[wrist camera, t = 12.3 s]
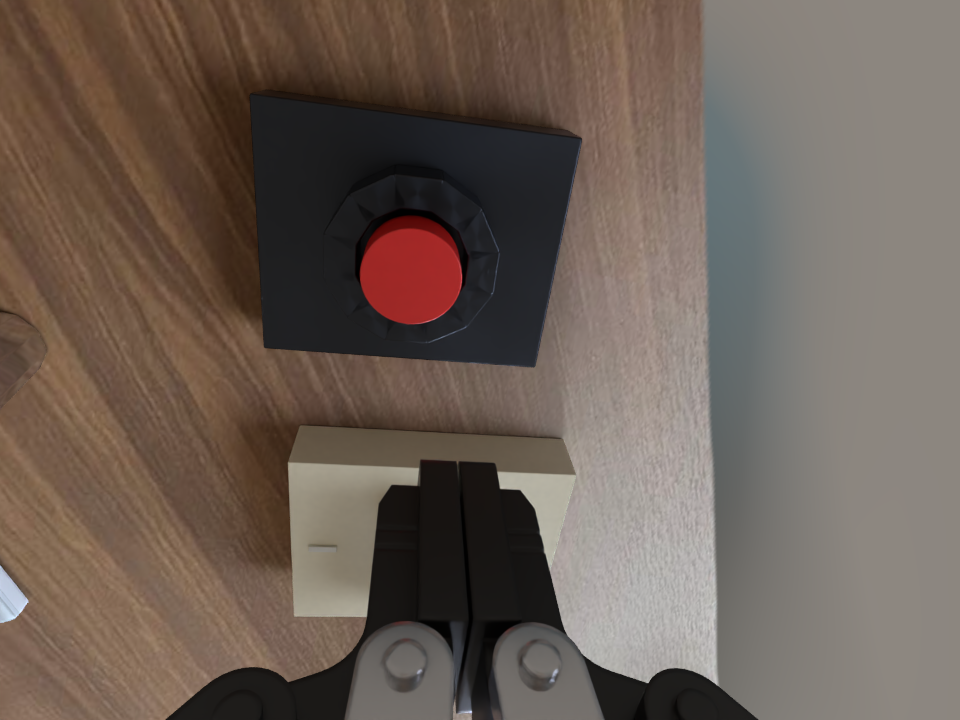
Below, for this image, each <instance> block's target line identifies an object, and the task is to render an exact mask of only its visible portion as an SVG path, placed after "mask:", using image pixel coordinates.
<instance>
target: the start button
mask: <svg viewBox="0 0 960 720" xmlns="http://www.w3.org/2000/svg"><path fill="white" fill-rule="evenodd" d="M360 283H361V287H362V290H363V293H364V295H365V297H366V299H367V300H368V302H369V303H370V304H371V306H372V307H373V308H374V309H375V310H376V311H377V312H379V313H380V314H382V315H383V316H385V317H386V318H388V319H390V320H393V321H396V322H399V323H405V324H420V323H425V322H429V321H431V320H434V319H436V318H438V317H440V316H441V315H443V314H444V313H445V312H446V311H447V310H449V308H450V307H451V306H452V305H453V304H454V302H455V301H456V299H457V297H458V295H459V292H460V289H461V285H462V269H461V264H460V258H459V253H458V249H457V246H456V244H455V242H454V240H453V238H452V237H451V235H450V234H449V233H448V232H447V231H446V229H445V228H443V227H442V226H441V225H440V224H438V223H436V222H435V221H433V220H431V219H428V218H425V217H422V216H416V215H406V216H399V217H396V218H393V219H390V220H388V221H386V222H385V223H383V224H382V225H380V226H379V227H378V228H377V229H376V230H375V231H374V233H373V234H372V235H371V237H370V238H369V240H368V242H367V245H366V248H365V252H364V255H363V259H362V263H361V266H360Z"/></svg>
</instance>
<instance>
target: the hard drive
mask: <svg viewBox="0 0 960 720" xmlns="http://www.w3.org/2000/svg"><path fill="white" fill-rule="evenodd" d="M27 603H28V599H27V598H26V597H25V595H24V594H23V593H22V592H21V591H20V589H19V588H18V587H17V586H16V584H15V583H14V582H13V580H12V579H11V578H10V577H9V576H8V574H7V573H6V572H5V570H4V569H3V568H2V567H1V566H0V623H3V622H7V621H10V620H12V619H15V618H16V617H17V616H18V615H19V614H20V612H21V611H22V610H23V608H24V607H25V606H26V604H27Z"/></svg>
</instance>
